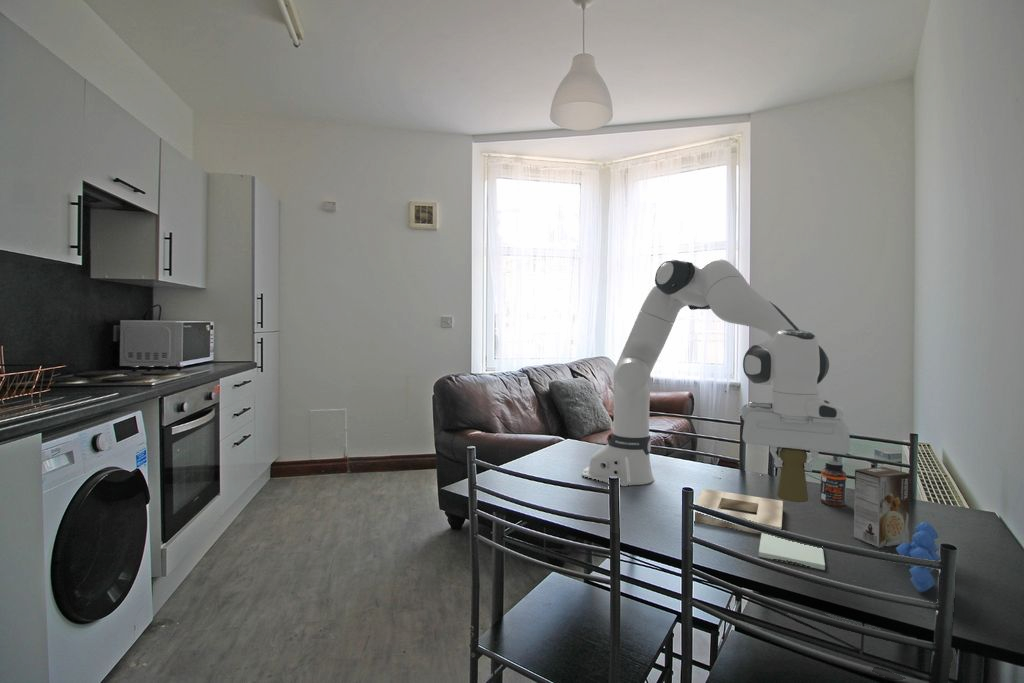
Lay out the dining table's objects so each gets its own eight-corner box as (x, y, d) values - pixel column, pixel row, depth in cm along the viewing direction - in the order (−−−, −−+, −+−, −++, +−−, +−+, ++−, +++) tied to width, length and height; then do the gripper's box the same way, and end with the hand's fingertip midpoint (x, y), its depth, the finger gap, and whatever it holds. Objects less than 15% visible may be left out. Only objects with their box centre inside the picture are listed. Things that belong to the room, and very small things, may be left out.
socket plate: (690, 521, 126) (691, 511, 126) (703, 497, 144) (703, 488, 144) (781, 537, 117) (781, 527, 117) (782, 510, 134) (782, 500, 134)
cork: (799, 493, 112) (801, 444, 112) (814, 502, 106) (815, 451, 106) (771, 492, 113) (772, 443, 112) (784, 501, 107) (785, 450, 106)
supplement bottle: (823, 505, 138) (824, 464, 137) (817, 498, 144) (818, 459, 143) (848, 508, 136) (849, 466, 136) (841, 500, 142) (842, 460, 141)
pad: (758, 556, 107) (758, 551, 107) (761, 535, 118) (761, 531, 118) (824, 570, 102) (824, 565, 102) (821, 547, 112) (821, 542, 112)
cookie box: (881, 532, 120) (884, 465, 120) (909, 543, 114) (912, 473, 113) (852, 536, 118) (854, 468, 117) (879, 548, 111) (881, 476, 111)
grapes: (899, 568, 102) (901, 510, 102) (943, 580, 98) (945, 519, 97) (889, 589, 94) (891, 526, 94) (936, 603, 90) (938, 537, 89)
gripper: (740, 403, 111) (739, 465, 111) (852, 411, 101) (850, 479, 102) (743, 399, 116) (741, 458, 117) (849, 407, 107) (847, 471, 107)
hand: (793, 468), depth 109 cm, fingers closed on cork, 4 cm apart
